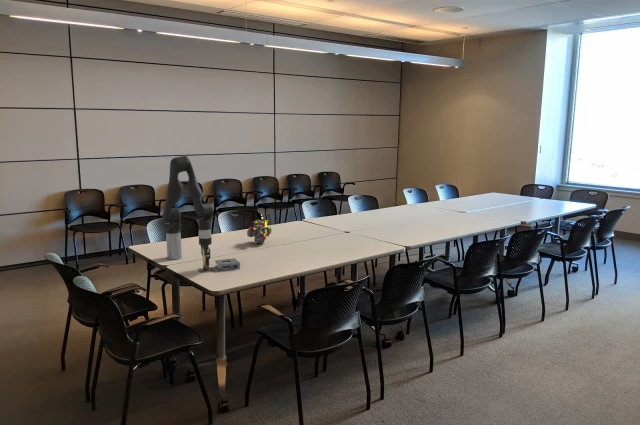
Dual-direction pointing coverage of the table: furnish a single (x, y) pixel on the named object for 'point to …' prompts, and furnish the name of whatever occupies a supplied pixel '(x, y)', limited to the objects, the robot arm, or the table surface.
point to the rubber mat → (206, 271)
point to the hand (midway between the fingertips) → (205, 263)
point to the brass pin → (205, 267)
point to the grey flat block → (227, 264)
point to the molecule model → (256, 231)
